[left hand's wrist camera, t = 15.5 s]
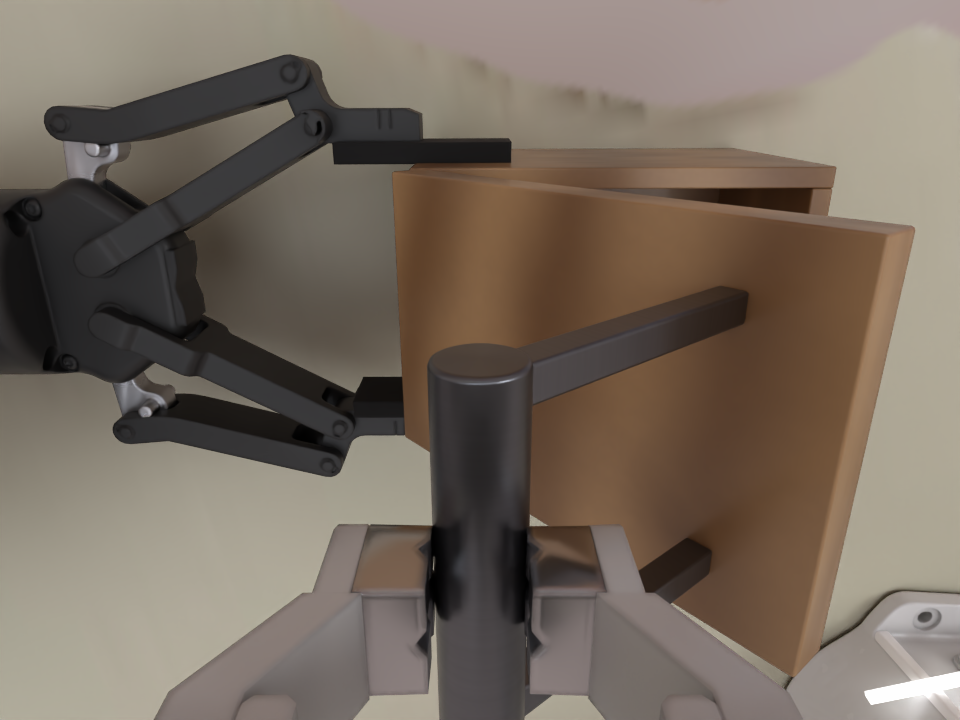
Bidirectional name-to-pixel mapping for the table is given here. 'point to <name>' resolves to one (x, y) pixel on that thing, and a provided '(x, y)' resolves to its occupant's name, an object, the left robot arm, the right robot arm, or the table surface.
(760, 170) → the chest
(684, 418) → the lid
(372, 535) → the left robot arm
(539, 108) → the table surface
